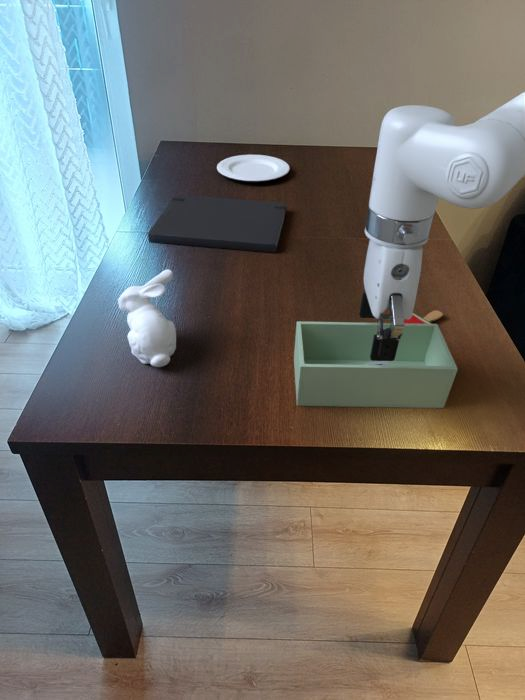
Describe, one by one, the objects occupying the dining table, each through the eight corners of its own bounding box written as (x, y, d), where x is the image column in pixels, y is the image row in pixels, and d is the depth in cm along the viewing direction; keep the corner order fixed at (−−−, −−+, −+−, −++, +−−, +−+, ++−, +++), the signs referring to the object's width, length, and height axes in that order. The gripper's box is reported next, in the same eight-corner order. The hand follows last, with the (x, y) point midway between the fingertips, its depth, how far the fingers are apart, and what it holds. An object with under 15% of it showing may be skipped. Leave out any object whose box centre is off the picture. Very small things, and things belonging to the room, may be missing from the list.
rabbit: (121, 336, 83) (108, 274, 75) (174, 321, 86) (167, 260, 78) (141, 380, 74) (129, 316, 67) (200, 362, 78) (194, 299, 70)
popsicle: (451, 315, 86) (395, 348, 79) (449, 321, 87) (394, 354, 80) (430, 303, 89) (374, 334, 82) (428, 310, 90) (372, 341, 83)
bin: (425, 361, 79) (437, 323, 74) (443, 408, 71) (458, 369, 66) (293, 359, 79) (296, 321, 74) (296, 405, 71) (300, 366, 66)
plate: (203, 169, 143) (202, 162, 142) (261, 156, 153) (261, 149, 151) (244, 192, 130) (244, 185, 129) (304, 176, 140) (304, 170, 139)
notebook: (148, 242, 108) (275, 253, 105) (147, 232, 107) (276, 244, 104) (176, 202, 125) (286, 211, 122) (175, 194, 123) (287, 202, 120)
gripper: (451, 259, 52) (416, 379, 63) (413, 194, 65) (390, 302, 76) (379, 258, 52) (357, 378, 62) (356, 193, 65) (341, 302, 76)
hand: (375, 337), depth 69 cm, fingers open, 9 cm apart
